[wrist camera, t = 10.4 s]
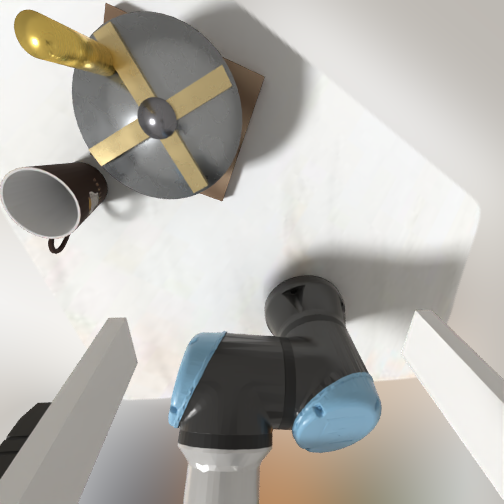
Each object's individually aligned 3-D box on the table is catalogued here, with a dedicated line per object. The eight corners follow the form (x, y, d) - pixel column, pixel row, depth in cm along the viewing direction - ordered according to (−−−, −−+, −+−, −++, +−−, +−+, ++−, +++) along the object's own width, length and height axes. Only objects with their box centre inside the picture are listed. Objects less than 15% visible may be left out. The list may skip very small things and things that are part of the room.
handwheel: (185, -27, 25) (147, -122, 15) (268, 153, 33) (280, 172, 22) (42, 77, 28) (-70, 58, 18) (148, 218, 36) (112, 261, 26)
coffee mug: (70, 140, 37) (17, 149, 28) (126, 182, 40) (93, 202, 31) (35, 201, 41) (-21, 226, 32) (89, 235, 44) (50, 266, 35)
